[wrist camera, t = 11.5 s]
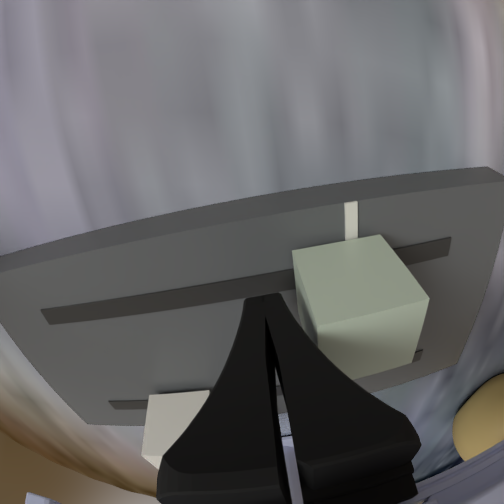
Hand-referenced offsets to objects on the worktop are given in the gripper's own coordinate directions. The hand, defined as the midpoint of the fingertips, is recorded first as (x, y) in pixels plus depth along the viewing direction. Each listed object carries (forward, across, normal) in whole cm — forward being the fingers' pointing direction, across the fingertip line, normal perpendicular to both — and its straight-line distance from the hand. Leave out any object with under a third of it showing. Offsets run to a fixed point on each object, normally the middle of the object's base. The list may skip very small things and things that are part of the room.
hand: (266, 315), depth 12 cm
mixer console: (+4, +1, +4) cm, 6 cm away
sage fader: (+2, -3, 0) cm, 4 cm away
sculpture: (+4, -24, +25) cm, 35 cm away
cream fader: (+2, +6, +8) cm, 10 cm away
